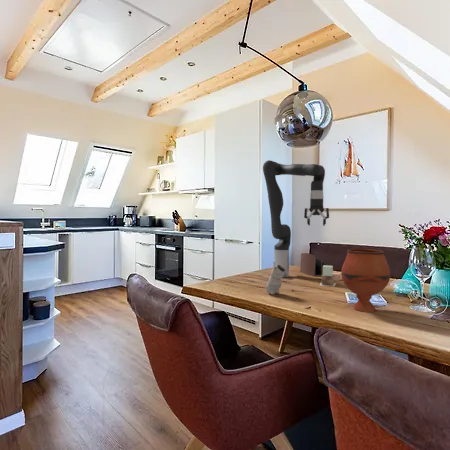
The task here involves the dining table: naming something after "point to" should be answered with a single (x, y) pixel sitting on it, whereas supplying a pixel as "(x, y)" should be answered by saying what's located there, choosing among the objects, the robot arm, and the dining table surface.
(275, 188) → the robot arm
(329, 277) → the walnut block
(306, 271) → the letter holder
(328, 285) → the build plate
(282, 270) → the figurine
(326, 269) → the sage block
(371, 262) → the goblet
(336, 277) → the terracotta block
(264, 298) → the dining table surface
